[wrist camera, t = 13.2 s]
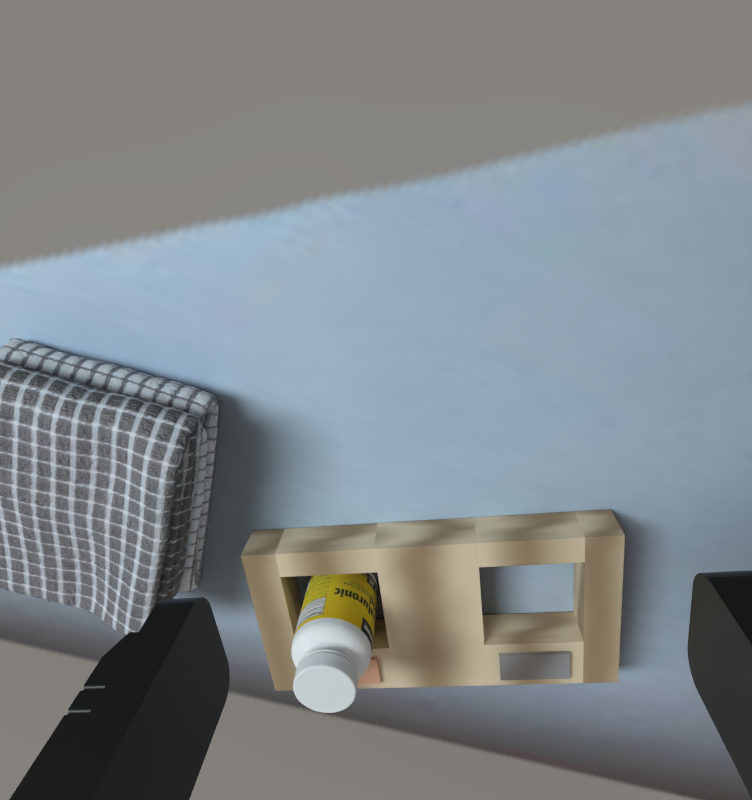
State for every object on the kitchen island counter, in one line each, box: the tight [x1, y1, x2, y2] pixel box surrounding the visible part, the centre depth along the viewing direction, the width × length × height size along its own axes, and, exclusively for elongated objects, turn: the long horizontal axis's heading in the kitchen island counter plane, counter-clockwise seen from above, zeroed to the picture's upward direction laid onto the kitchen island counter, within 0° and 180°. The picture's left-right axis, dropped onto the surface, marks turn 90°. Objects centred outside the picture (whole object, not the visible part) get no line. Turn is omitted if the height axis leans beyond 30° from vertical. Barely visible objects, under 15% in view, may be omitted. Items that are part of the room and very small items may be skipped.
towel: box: [0, 338, 219, 636], centre depth 39 cm, size 15×18×8 cm
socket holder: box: [241, 509, 625, 690], centre depth 43 cm, size 26×13×3 cm, turn 97°
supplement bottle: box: [291, 573, 378, 713], centre depth 40 cm, size 5×5×10 cm
